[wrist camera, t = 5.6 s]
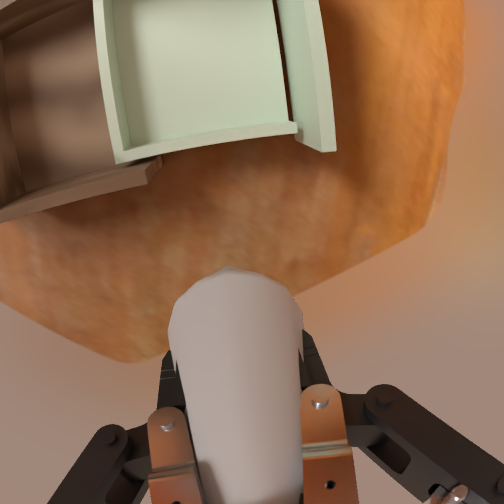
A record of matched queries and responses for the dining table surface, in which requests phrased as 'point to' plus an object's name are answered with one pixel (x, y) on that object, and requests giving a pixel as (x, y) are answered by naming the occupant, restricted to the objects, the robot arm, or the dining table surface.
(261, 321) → the salt shaker
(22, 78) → the cabinet
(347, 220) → the dining table surface
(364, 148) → the dining table surface
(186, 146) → the drawer
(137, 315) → the dining table surface
